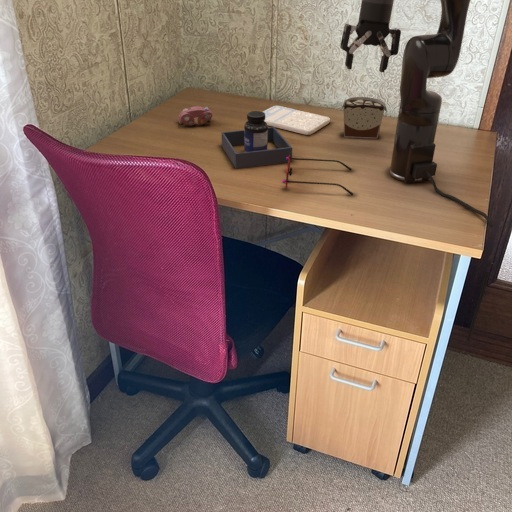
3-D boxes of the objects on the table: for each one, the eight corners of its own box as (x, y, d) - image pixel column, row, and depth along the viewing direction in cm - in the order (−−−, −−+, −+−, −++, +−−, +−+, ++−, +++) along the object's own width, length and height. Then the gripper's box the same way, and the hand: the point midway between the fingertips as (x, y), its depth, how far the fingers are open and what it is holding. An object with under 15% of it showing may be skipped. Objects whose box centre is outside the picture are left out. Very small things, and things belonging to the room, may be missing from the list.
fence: (291, 162, 148) (292, 147, 146) (235, 168, 144) (235, 154, 142) (273, 140, 160) (274, 126, 158) (221, 146, 156) (221, 132, 154)
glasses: (286, 166, 145) (286, 148, 143) (351, 170, 144) (353, 151, 141) (282, 191, 134) (282, 172, 131) (352, 195, 133) (355, 176, 130)
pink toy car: (180, 131, 169) (180, 114, 163) (177, 120, 171) (177, 103, 165) (212, 128, 171) (214, 111, 165) (209, 117, 173) (211, 100, 167)
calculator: (309, 136, 163) (310, 130, 161) (251, 122, 172) (251, 115, 171) (331, 122, 172) (331, 116, 171) (275, 109, 181) (275, 103, 180)
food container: (380, 130, 167) (385, 97, 161) (382, 138, 161) (387, 104, 156) (338, 129, 167) (341, 95, 162) (338, 136, 162) (342, 102, 157)
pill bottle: (241, 150, 154) (241, 110, 148) (263, 148, 155) (263, 108, 149) (248, 159, 149) (248, 119, 143) (270, 157, 150) (271, 116, 144)
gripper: (352, -1, 133) (341, 71, 140) (411, 4, 134) (396, 75, 142) (345, -4, 139) (334, 65, 147) (401, 2, 141) (388, 69, 149)
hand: (365, 70), depth 144 cm, fingers open, 8 cm apart
